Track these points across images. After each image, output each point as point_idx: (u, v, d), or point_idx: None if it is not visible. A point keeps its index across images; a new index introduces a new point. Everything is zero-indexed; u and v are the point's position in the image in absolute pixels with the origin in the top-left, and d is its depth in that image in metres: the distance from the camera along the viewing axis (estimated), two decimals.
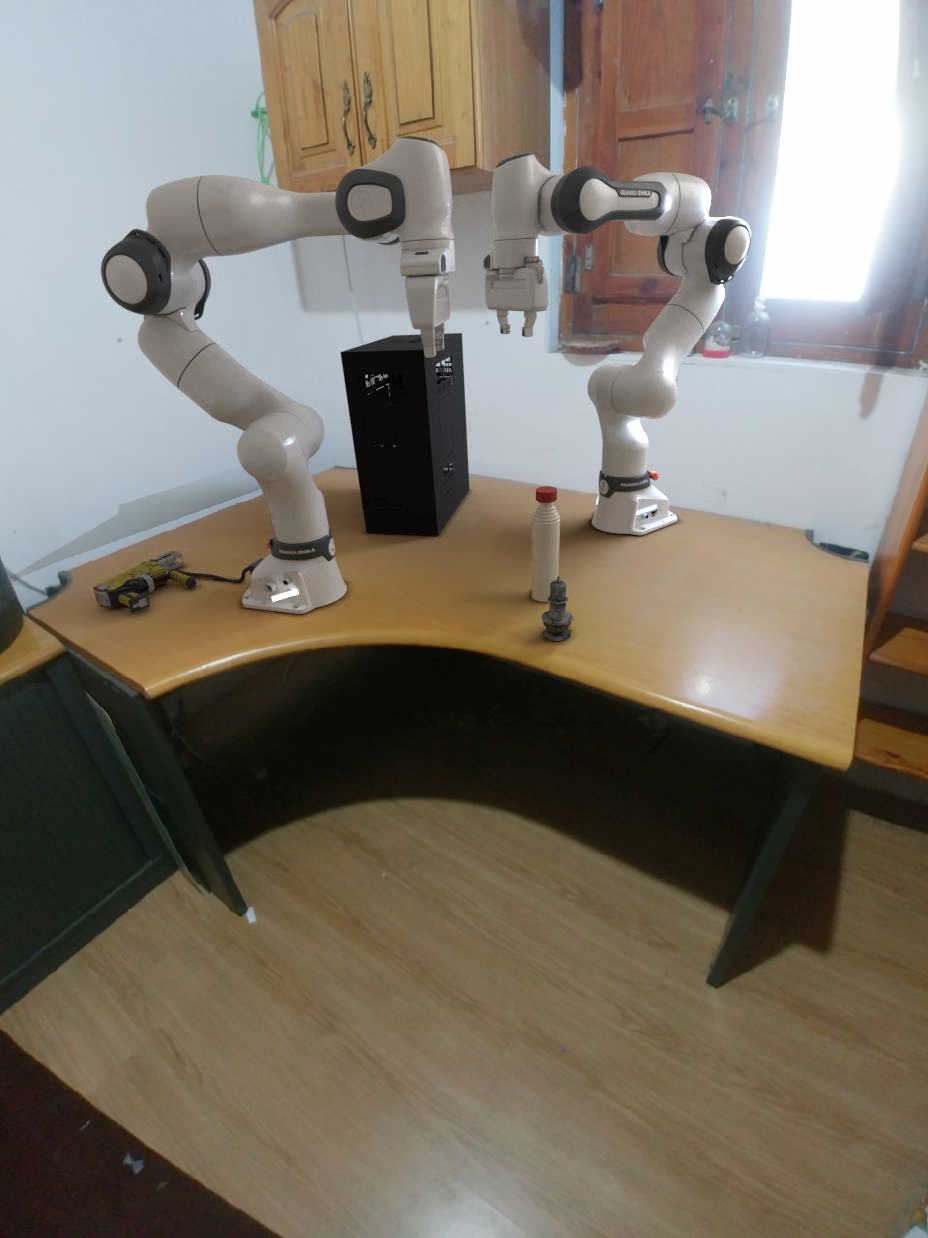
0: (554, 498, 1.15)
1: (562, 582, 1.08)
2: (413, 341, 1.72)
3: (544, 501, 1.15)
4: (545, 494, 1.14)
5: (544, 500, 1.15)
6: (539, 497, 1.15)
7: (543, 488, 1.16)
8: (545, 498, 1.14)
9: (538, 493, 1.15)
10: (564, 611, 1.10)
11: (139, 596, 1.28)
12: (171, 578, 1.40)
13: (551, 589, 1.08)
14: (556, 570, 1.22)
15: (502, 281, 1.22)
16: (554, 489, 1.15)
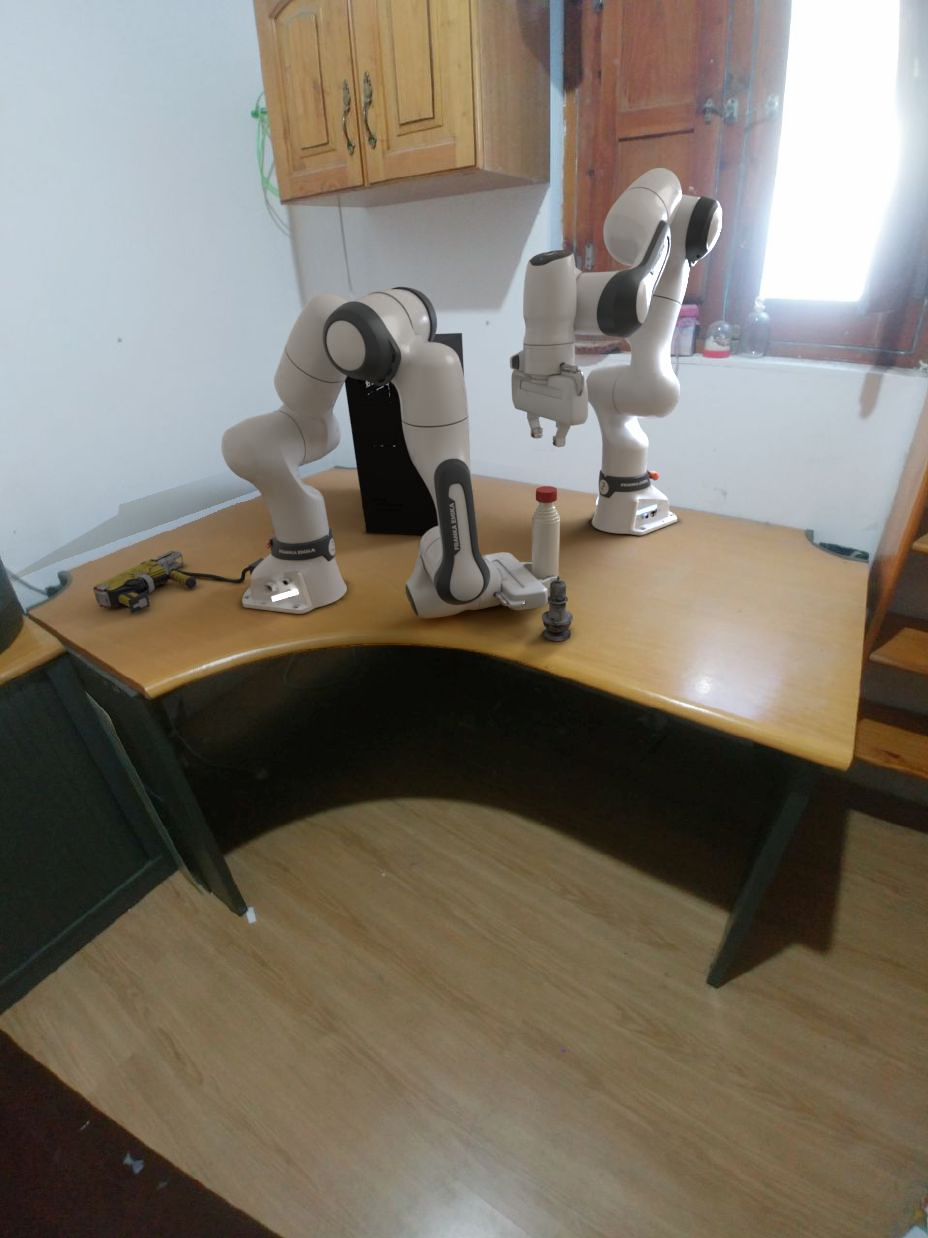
0: (554, 498, 1.15)
1: (562, 582, 1.08)
2: None
3: (544, 501, 1.15)
4: (545, 494, 1.14)
5: (544, 500, 1.15)
6: (539, 497, 1.15)
7: (543, 488, 1.16)
8: (545, 498, 1.14)
9: (538, 493, 1.15)
10: (564, 611, 1.10)
11: (139, 596, 1.28)
12: (171, 578, 1.40)
13: (551, 589, 1.08)
14: (556, 570, 1.22)
15: (533, 384, 1.08)
16: (554, 489, 1.15)
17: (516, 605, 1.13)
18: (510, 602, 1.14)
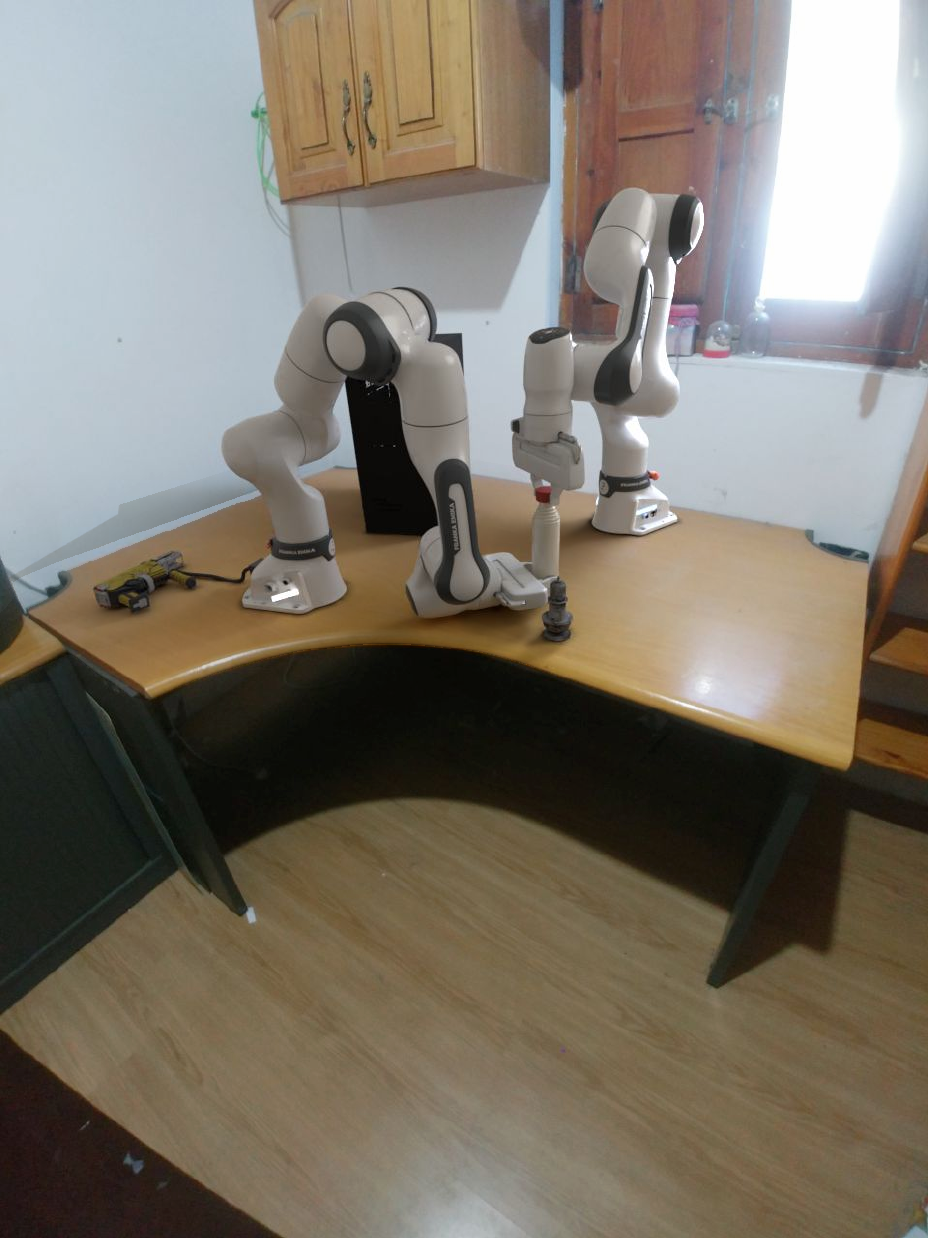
0: None
1: (562, 582, 1.08)
2: None
3: (544, 501, 1.15)
4: (545, 494, 1.14)
5: (544, 500, 1.15)
6: (539, 497, 1.15)
7: (543, 488, 1.16)
8: (545, 498, 1.14)
9: (538, 493, 1.15)
10: (564, 611, 1.10)
11: (139, 596, 1.28)
12: (171, 578, 1.40)
13: (551, 589, 1.08)
14: (556, 570, 1.22)
15: (532, 447, 1.13)
16: None
17: (516, 605, 1.13)
18: (510, 602, 1.14)
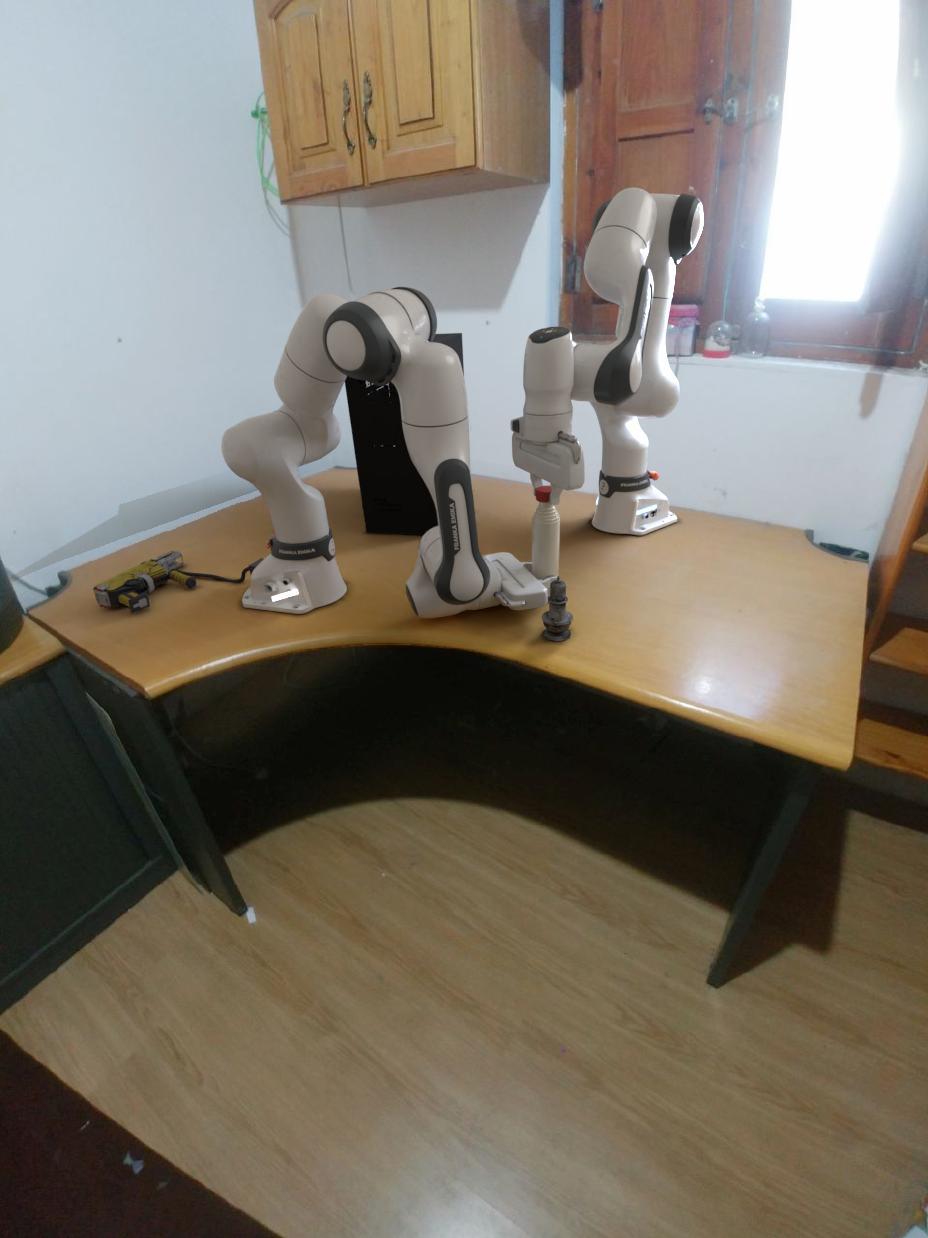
0: None
1: (562, 582, 1.08)
2: None
3: None
4: None
5: None
6: None
7: (543, 490, 1.15)
8: None
9: None
10: (564, 611, 1.10)
11: (139, 596, 1.28)
12: (171, 578, 1.40)
13: (551, 589, 1.08)
14: (556, 570, 1.22)
15: None
16: (546, 486, 1.17)
17: (516, 605, 1.13)
18: (510, 602, 1.14)
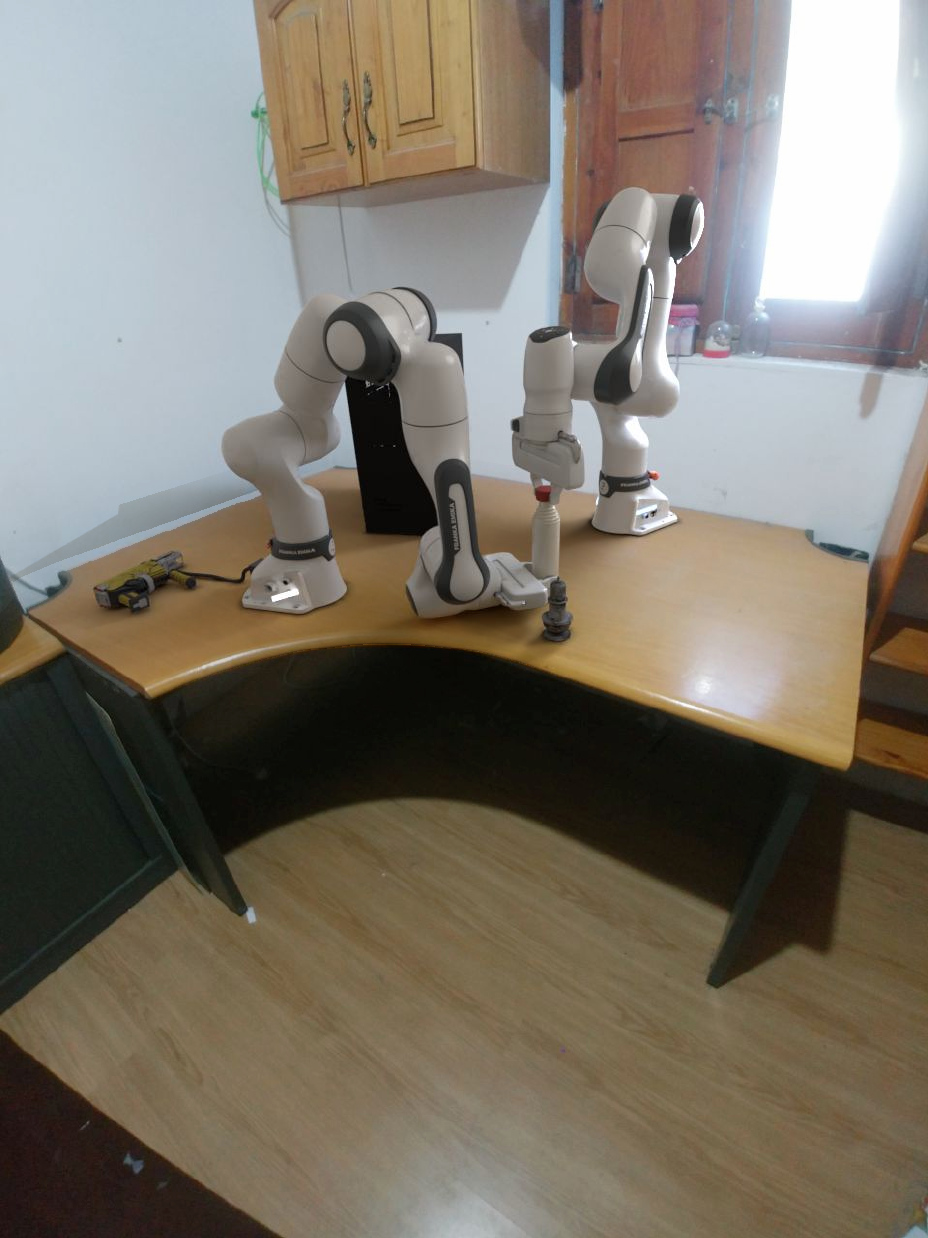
0: None
1: (562, 582, 1.08)
2: None
3: None
4: None
5: None
6: None
7: (550, 489, 1.15)
8: None
9: None
10: (564, 611, 1.10)
11: (139, 596, 1.28)
12: (171, 578, 1.40)
13: (551, 589, 1.08)
14: (556, 570, 1.22)
15: (532, 446, 1.13)
16: (538, 488, 1.15)
17: (516, 605, 1.13)
18: (510, 602, 1.14)
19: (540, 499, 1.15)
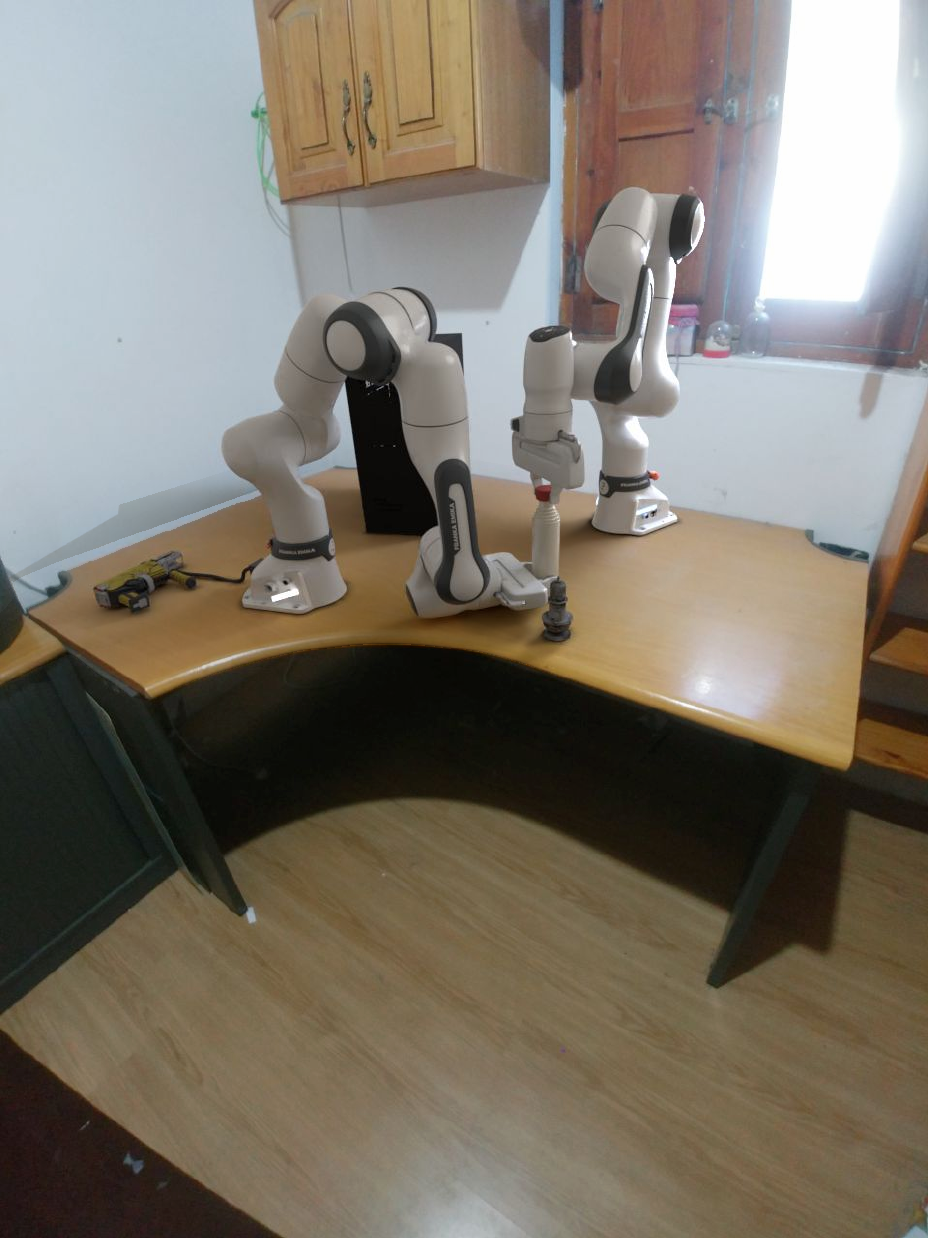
0: (542, 498, 1.15)
1: (562, 582, 1.08)
2: None
3: None
4: (536, 490, 1.15)
5: (536, 496, 1.16)
6: None
7: (548, 486, 1.16)
8: (536, 494, 1.16)
9: None
10: (564, 611, 1.10)
11: (139, 596, 1.28)
12: (171, 578, 1.40)
13: (551, 589, 1.08)
14: (556, 570, 1.22)
15: None
16: (547, 490, 1.14)
17: (516, 605, 1.13)
18: (510, 602, 1.14)
19: None
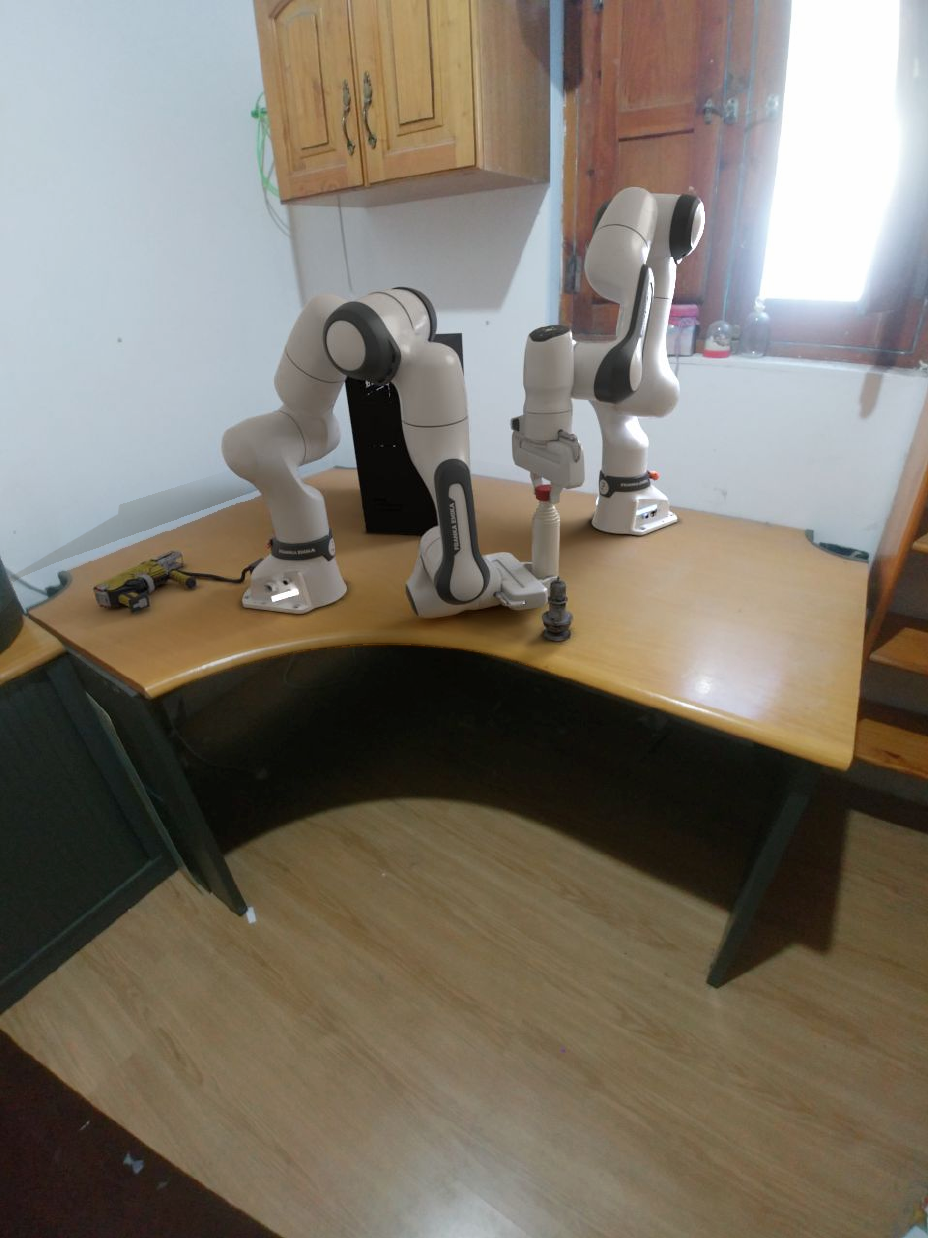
0: None
1: (562, 582, 1.08)
2: None
3: None
4: (549, 492, 1.14)
5: None
6: (542, 496, 1.14)
7: (542, 487, 1.16)
8: None
9: (541, 492, 1.14)
10: (564, 611, 1.10)
11: (139, 596, 1.28)
12: (171, 578, 1.40)
13: (551, 589, 1.08)
14: (556, 570, 1.22)
15: (532, 445, 1.13)
16: None
17: (516, 605, 1.13)
18: (510, 602, 1.14)
19: None
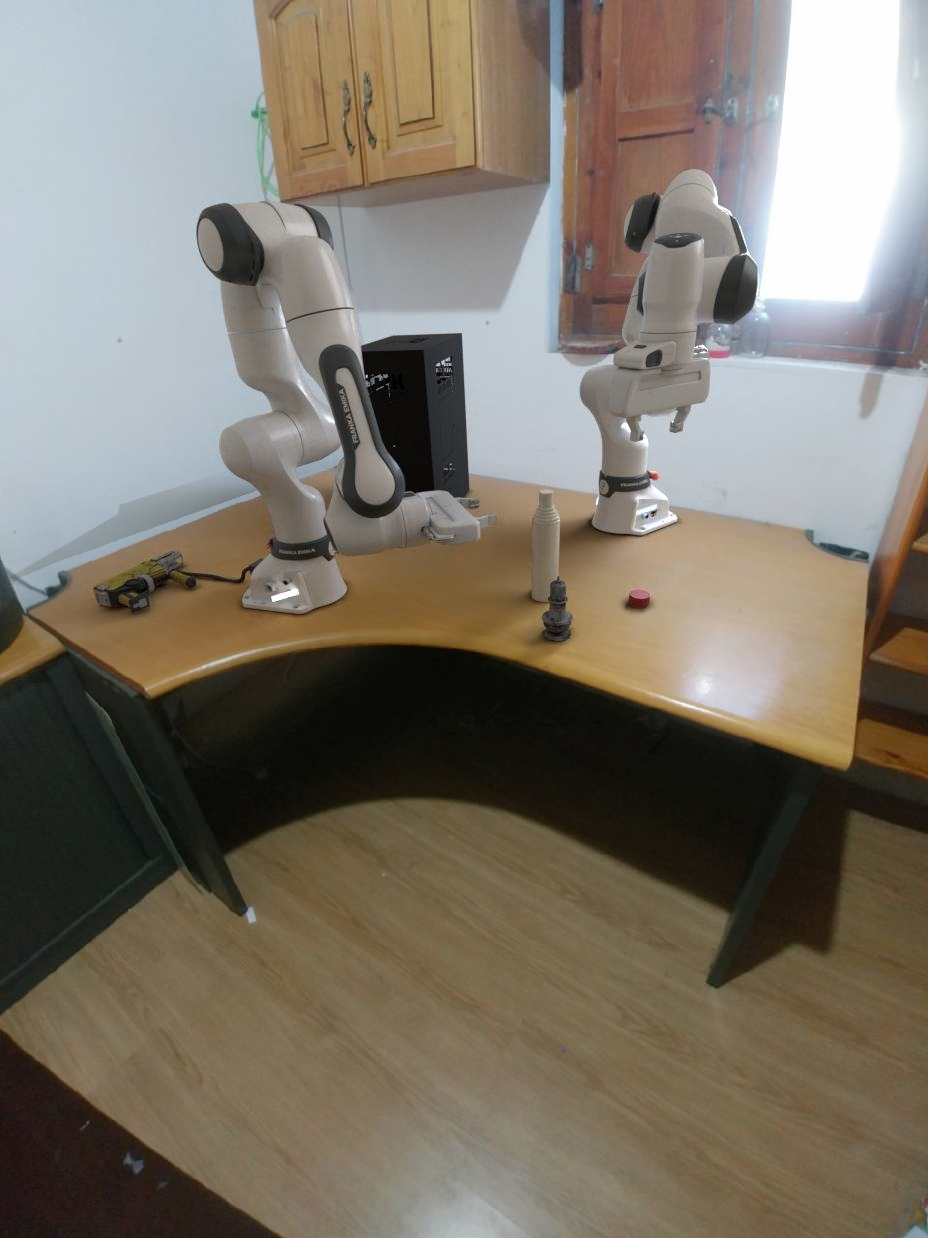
0: None
1: (562, 582, 1.08)
2: (413, 341, 1.72)
3: None
4: None
5: None
6: (648, 600, 1.21)
7: (638, 595, 1.21)
8: None
9: (649, 597, 1.20)
10: (564, 611, 1.10)
11: (139, 596, 1.28)
12: (171, 578, 1.40)
13: (551, 589, 1.08)
14: (556, 570, 1.22)
15: (658, 379, 0.98)
16: (636, 590, 1.22)
17: (443, 538, 1.02)
18: (437, 536, 1.03)
19: None
